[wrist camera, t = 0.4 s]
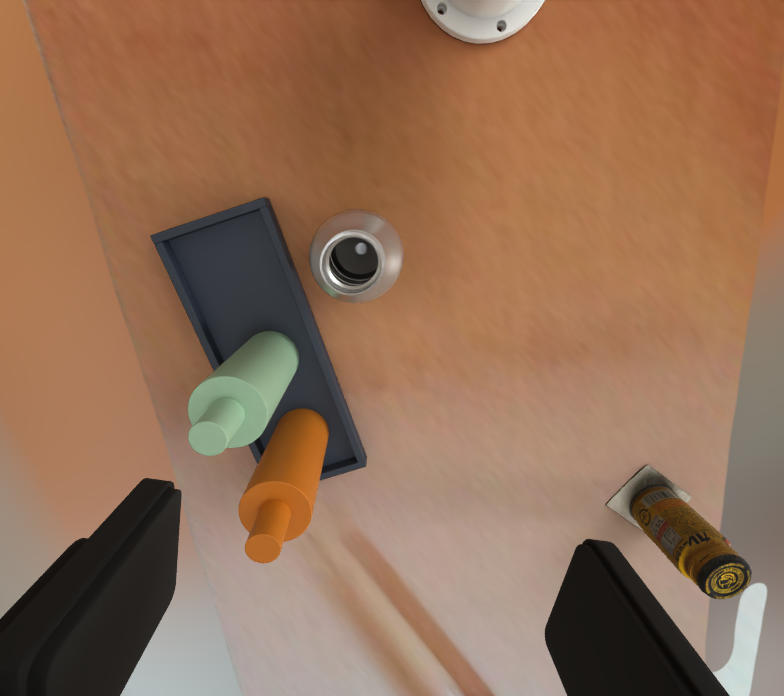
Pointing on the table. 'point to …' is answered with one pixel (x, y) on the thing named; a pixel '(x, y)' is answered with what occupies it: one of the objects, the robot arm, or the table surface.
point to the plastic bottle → (356, 256)
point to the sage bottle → (241, 394)
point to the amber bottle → (284, 484)
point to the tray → (258, 313)
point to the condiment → (682, 534)
